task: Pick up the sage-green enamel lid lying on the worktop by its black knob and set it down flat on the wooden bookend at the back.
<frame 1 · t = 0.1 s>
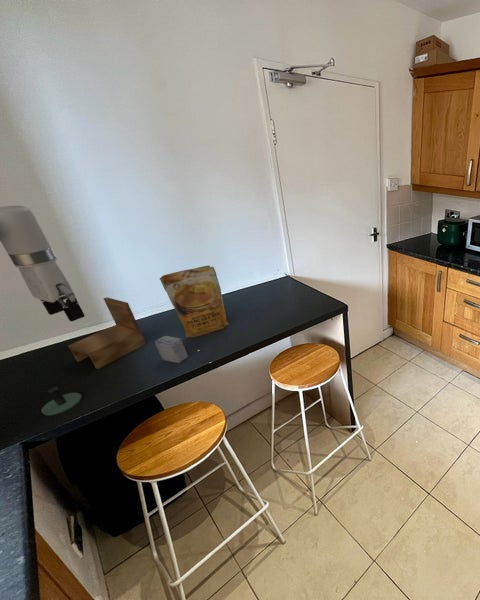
hand: (67, 315, 87), 31 cm above the countertop, tool pointing down, fingers open, 9 cm apart
wooden bookend: (113, 352, 122), on the countertop
lid: (62, 404, 98), on the countertop
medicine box: (175, 359, 119), on the countertop
pancake mix bag: (207, 330, 136), on the countertop
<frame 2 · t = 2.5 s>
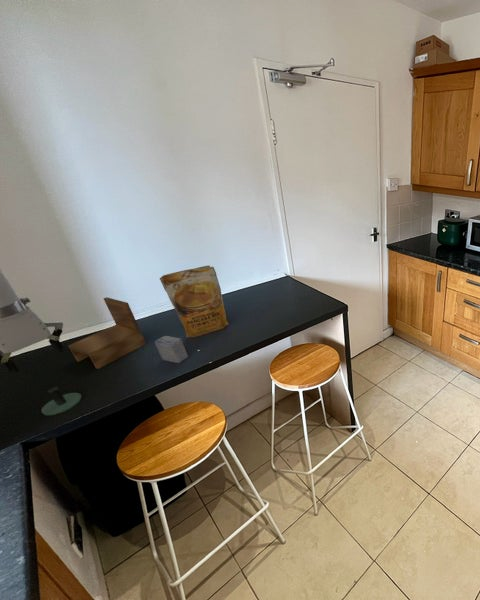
hand: (38, 360, 91), 17 cm above the countertop, tool pointing down, fingers open, 9 cm apart
nothing on the countertop moved.
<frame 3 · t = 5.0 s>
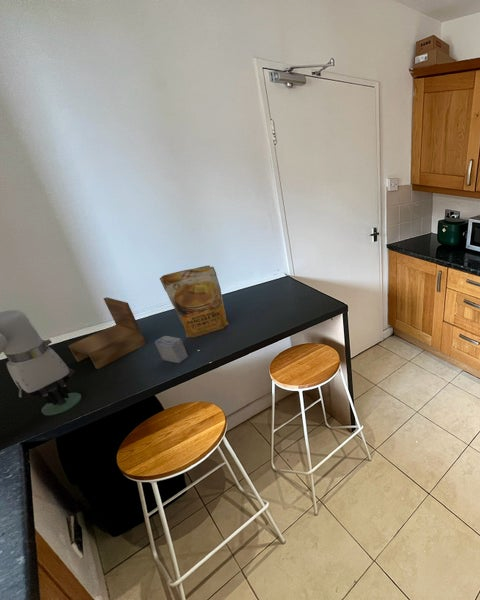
hand: (59, 399, 97), 2 cm above the countertop, tool pointing down, fingers closed on lid
lid: (62, 404, 98), on the countertop, touching gripper
everything else where it was.
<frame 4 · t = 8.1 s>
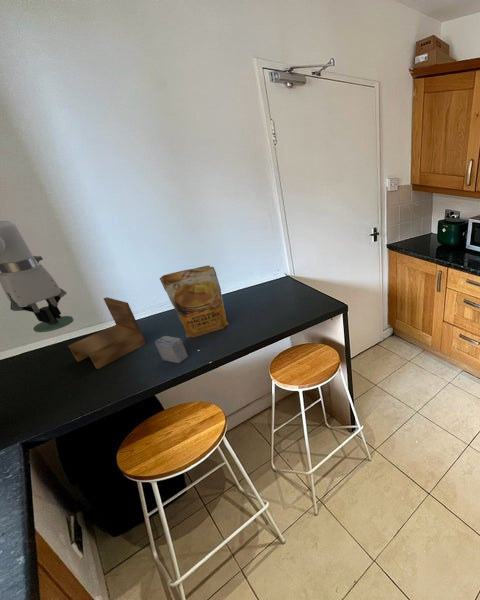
hand: (51, 319, 99), 24 cm above the countertop, tool pointing down, fingers closed on lid
lid: (54, 324, 100), point 22 cm above the countertop, touching gripper
everything else where it was.
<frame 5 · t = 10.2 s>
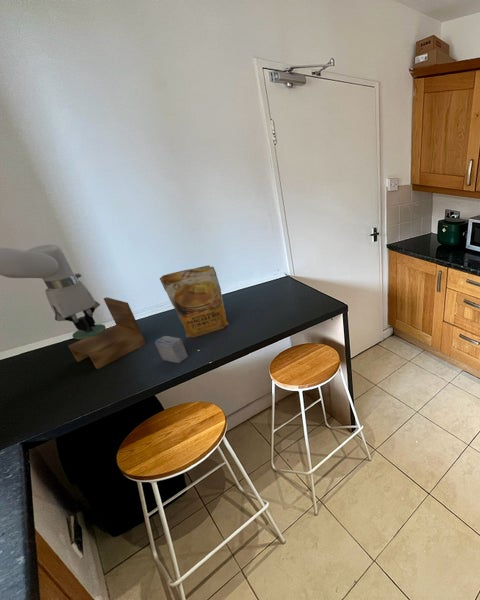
hand: (87, 327, 114), 13 cm above the countertop, tool pointing down, fingers closed on lid
lid: (89, 332, 115), point 11 cm above the countertop, touching gripper
everything else where it was.
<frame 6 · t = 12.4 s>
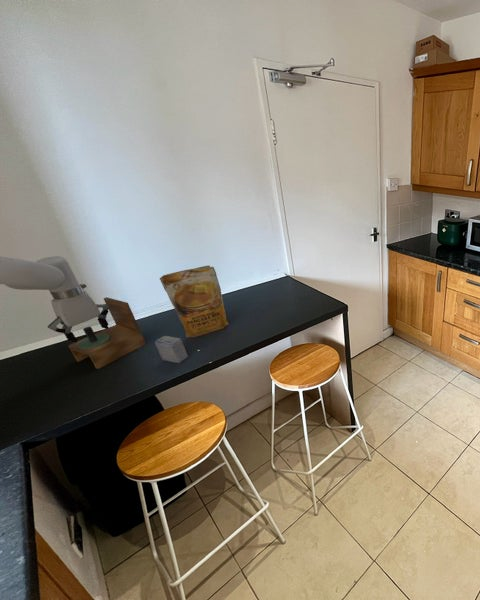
hand: (90, 334, 115), 10 cm above the countertop, tool pointing down, fingers open, 9 cm apart
lid: (94, 342, 116), point 7 cm above the countertop, touching wooden bookend
everything else where it was.
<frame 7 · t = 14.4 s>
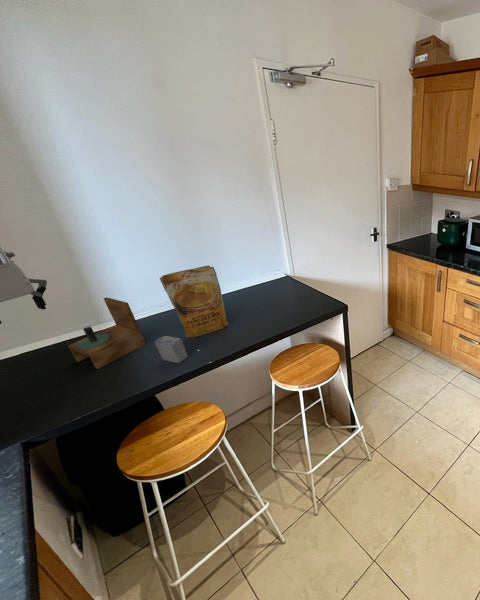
hand: (21, 315, 94), 27 cm above the countertop, tool pointing down, fingers open, 9 cm apart
nothing on the countertop moved.
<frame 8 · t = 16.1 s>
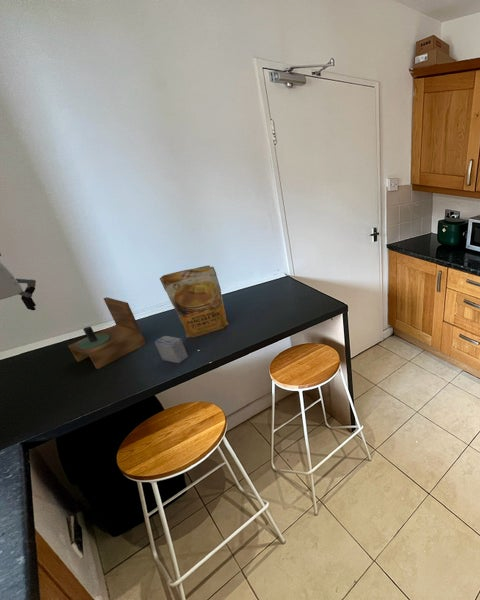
hand: (9, 316, 91), 28 cm above the countertop, tool pointing down, fingers open, 9 cm apart
nothing on the countertop moved.
at the end: lid inside the target area on the wooden bookend (0.8 cm from its centre), point 7.0 cm above the wooden bookend's base; lid tilted 0°; the gripper is holding nothing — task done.
